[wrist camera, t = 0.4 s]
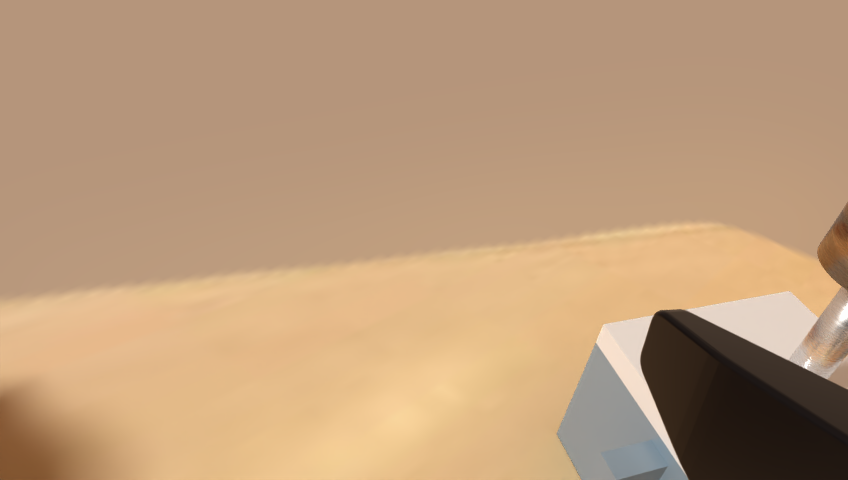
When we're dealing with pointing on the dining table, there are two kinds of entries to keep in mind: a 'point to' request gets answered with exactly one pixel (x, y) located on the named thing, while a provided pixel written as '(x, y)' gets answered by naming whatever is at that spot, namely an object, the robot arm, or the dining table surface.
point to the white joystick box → (631, 398)
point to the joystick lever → (829, 308)
